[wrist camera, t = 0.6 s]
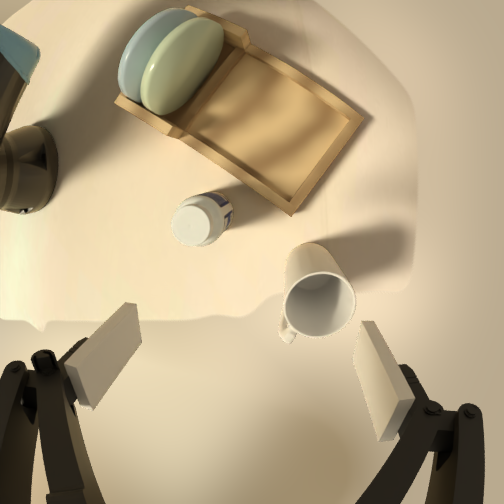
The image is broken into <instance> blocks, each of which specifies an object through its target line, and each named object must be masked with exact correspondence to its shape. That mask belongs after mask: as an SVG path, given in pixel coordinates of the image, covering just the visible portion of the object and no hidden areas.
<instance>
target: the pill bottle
mask: <svg viewBox="0 0 504 504" xmlns="http://www.w3.org/2000/svg"><path fill="white" fill-rule="evenodd" d="M232 219H233V208H232V205H231V203H230V201H229V200H228V199H227V198H226V197H225V196H224V195H223V194H221V193H218V192H206V193H203V194H199V195H195V196H192V197H189V198H187V199H185V200H184V201H183V202H182V203H181V204H180V205H179V206H178V208H177V210H176V212H175V214H174V215H173V218H172V221H171V228H172V232H173V235H174V236H175V238H176V239H177V240H178V241H179V242H180V243H182V244H184V245H187V246H206V245H209V244H211V243H213V242H214V241H215V240H217V239H218V238H219V236H220V235H221V234H222V233H223V232H224V231H225V230H226V229H227V228H228V227H229V225H230V224H231V221H232Z"/></svg>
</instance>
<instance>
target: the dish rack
mask: <svg viewBox="0 0 504 504" xmlns="http://www.w3.org/2000/svg"><path fill="white" fill-rule="evenodd" d="M185 10H188V11H190V12H193V13H194V14H196V15H197V16H198V17H205V18H208V19H211V20H213V21H215V22H217V23H219V24H220V25H221V26H222V28H223V31H224V42H223V47H222V50H221V53H220V56H219V58H218V60H217V62H216V64H215V66H214V68H213V70H212V72H211V73H210V75H209V76H208V78H207V79H206V81H205V82H204V83H203V85H202V86H201V87H200V89H199V90H198V91H197V92H196V93H195V94H194V95H193V96H192V97H191V98H190V99H189V100H188V101H187V102H186V103H185V104H184V105H183V106H181V107H180V108H178V109H177V110H175V111H173V112H172V113H169V114H166V115H158V114H156V113H154V112H153V111H151V110H149V109H148V108H146V107H145V106H144V104H143V102H136V101H134V100H132V99H131V98H129V97H127V96H125V95H124V94H123V93H122V91H121V93H120V94H119V96H118V97H117V99H116V101H115V102H114V103H115V104H117V105H118V106H120V107H122V108H123V109H125V110H126V111H128V112H130V113H131V114H133V115H135V116H136V117H138V118H139V119H141V120H143V121H144V122H146V123H148V124H149V125H151V126H152V127H154V128H155V129H157V130H159V131H160V132H162V133H163V134H165V135H166V136H170V137H173V138H176V139H179V140H181V141H182V142H184V143H185V144H187V145H188V146H190V147H192V148H193V149H195V150H196V151H198V152H199V153H201V154H202V155H204V156H205V157H207V158H208V159H210V160H211V161H213V162H214V163H216V164H217V165H219V166H220V167H221V168H223V169H224V170H226V171H227V172H229V173H230V174H232V175H233V176H235V177H236V178H237V179H239V180H240V181H242V182H243V183H245V184H246V185H247V186H249V187H250V188H252V189H253V190H255V191H256V192H257V193H259V194H260V195H262V196H263V197H264V198H266V199H267V200H269V201H270V202H271V203H273V204H274V205H276V206H277V207H278V208H280V209H281V210H282V211H284V212H285V213H287V214H288V215H289V216H291V217H292V215H293V214H294V213H295V211H296V210H297V209H298V207H299V206H300V205H301V203H302V202H303V201H304V199H305V198H306V197H307V195H308V194H309V193H310V191H311V190H312V188H313V187H314V186H315V184H316V183H317V182H318V180H319V179H320V178H321V176H322V175H323V174H324V172H325V171H326V170H327V168H328V167H329V166H330V164H331V163H332V162H333V160H334V159H335V158H336V156H337V155H338V153H339V152H340V151H341V149H342V148H343V147H344V145H345V144H346V143H347V141H348V140H349V139H350V137H351V136H352V134H353V133H354V132H355V130H356V129H357V128H358V126H359V125H360V124H361V122H362V121H363V119H364V117H362V116H361V115H360V114H359V113H357V112H356V111H355V110H353V109H352V108H351V107H350V106H348V105H347V104H346V103H344V102H343V101H342V100H340V99H339V98H337V97H336V96H335V95H333V94H332V93H330V92H329V91H328V90H326V89H325V88H323V87H322V86H320V85H319V84H317V83H316V82H314V81H313V80H311V79H310V78H308V77H307V76H305V75H304V74H302V73H301V72H299V71H297V70H296V69H294V68H293V67H291V66H289V65H288V64H286V63H284V62H283V61H281V60H279V59H278V58H276V57H274V56H272V55H271V54H269V53H267V52H265V51H263V50H262V49H260V48H258V47H256V46H254V45H252V44H251V43H250V39H249V36H248V32H247V30H246V29H244V28H242V27H240V26H238V25H236V24H234V23H231V22H229V21H227V20H225V19H222V18H220V17H218V16H215V15H213V14H210V13H208V12H205V11H203V10H200V9H198V8H195V7H192V6H190V5H187V6H186V7H185Z"/></svg>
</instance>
